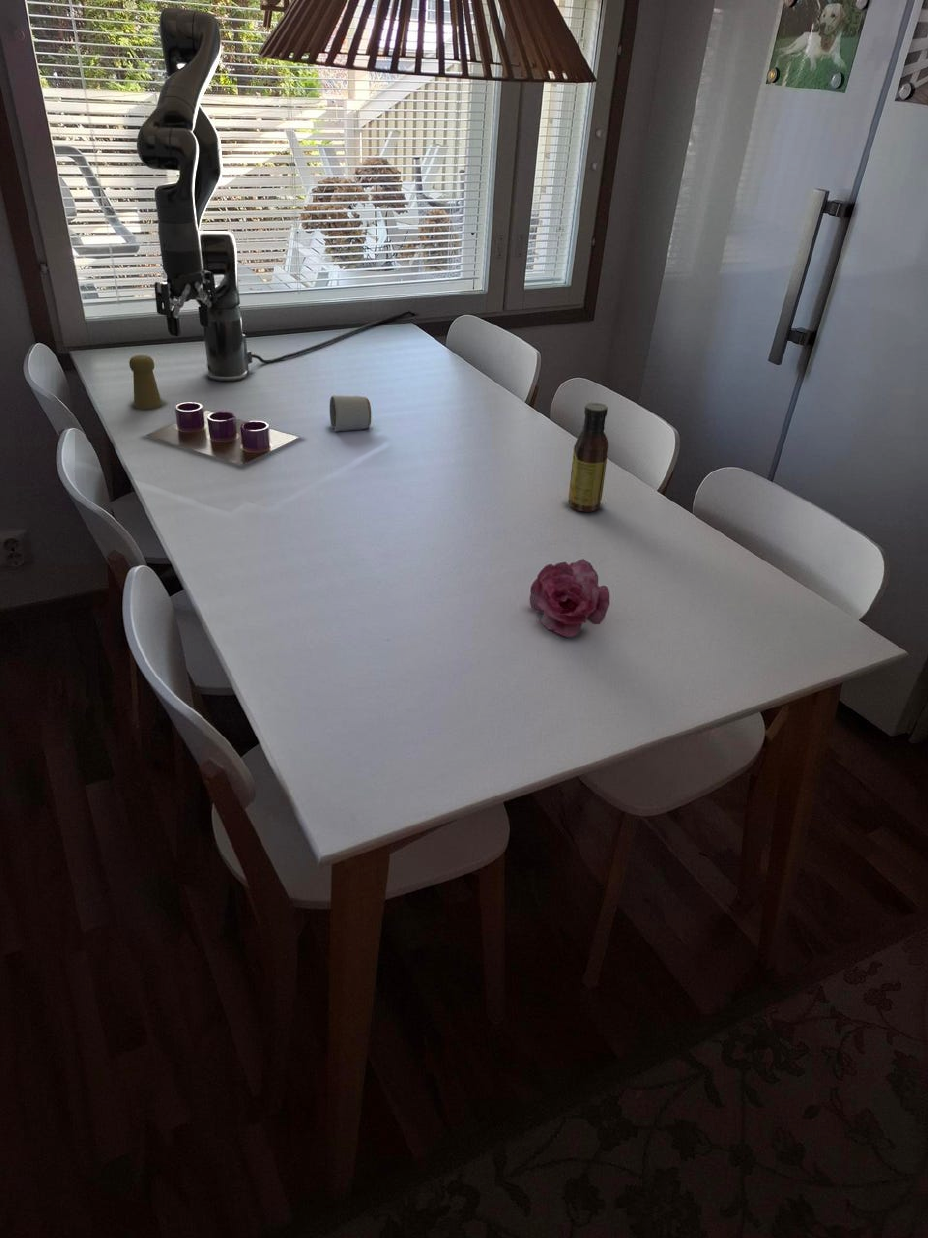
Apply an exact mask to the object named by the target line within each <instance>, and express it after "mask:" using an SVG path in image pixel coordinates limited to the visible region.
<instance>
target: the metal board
mask: <svg viewBox="0 0 928 1238" xmlns="http://www.w3.org/2000/svg"><path fill="white" fill-rule="evenodd" d="M203 412H204V420H205V427H204V428H203V429H201V430H198V431H192V432H188V431H182V430H179V429H178V426H177V422H176V423H172V424H170V425H168V426H165V427H163V428H160V429H159V430H155V431H153V432H150V433H148V434H146V435H145V436H146V437H150V438H153V439H156V440H158V441H159V440H160V441H161V442H162V441H163V442H166V443H169V444H172V445H174V446H178V447H181V448H186V449H188V450H191V451H195V452H198V453H201V454H204V455H207V456H210V457H214V458H217V459H220V460H223V461H226V462H230V463H233V464H236V465H239V466H243V465H246V464H248V463H249V462H252V461H254V460H256V459H258V458H260V457H262V456H265V455H266V454H269V453H270V452H273V451H274V450H276V449H279V448H280V447H282V446H284V445H287V444H289V443H291V442H293V441H295V440H298V439H299V438H300V437H299V436H297V435H293V434H288V433H285V432H282V431H279V430H275V429H272V428H269V432H270V447H269V448H268V449H266V450H263V451H248V450H245V449H244V448H243V447H242V440H241V430H240V426H241V424H243V423H245V422H246V421H244V420H240V419H237V418H236V428H237V437H236V438H235V439H233V440H230V441H215V440H212V439H211V438H210V436H209V430H208V421H207V416H208V415H209V414H210V413H214V412H212V411H210V410H205V411H203Z"/></svg>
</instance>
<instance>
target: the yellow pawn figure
mask: <svg viewBox="0 0 928 1238" xmlns="http://www.w3.org/2000/svg"><path fill="white" fill-rule="evenodd" d="M128 364H129V368H130V370H131V372H132V373H133V374H132V375H133V406H134V408H135V409H138V410H155V409H158V408H160V407H162V406H163V401H162V398H161V395H160V392H159V388H158V385H157V381H156V377H155V374H154V369H155V361H154V359H153V358H152V357H151V356H150V355H147V354H138V355H137V354H136V355H133V356H132V357H131V358H130V359H129V361H128Z"/></svg>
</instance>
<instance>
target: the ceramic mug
mask: <svg viewBox="0 0 928 1238" xmlns="http://www.w3.org/2000/svg"><path fill="white" fill-rule="evenodd" d="M329 421H330V426H331V427H335V428H334V429H333V431H334V432H348V431H362V430H366V429H369V428H370V426H371V424H372V406H371V402H370V399H369V398H368V397H366V396H363V395H337V394H333V395H331V396H330V399H329Z"/></svg>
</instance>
